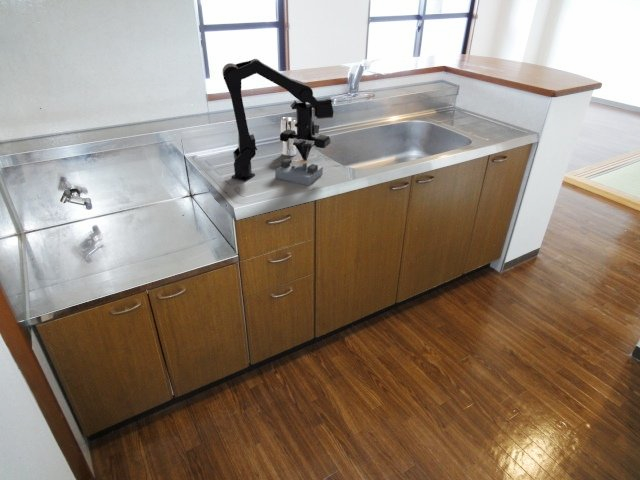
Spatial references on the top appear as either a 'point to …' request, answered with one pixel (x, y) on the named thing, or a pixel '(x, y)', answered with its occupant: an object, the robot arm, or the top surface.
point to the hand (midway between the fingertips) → (305, 159)
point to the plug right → (312, 168)
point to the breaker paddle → (298, 163)
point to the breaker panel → (298, 174)
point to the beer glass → (288, 146)
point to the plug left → (286, 163)
